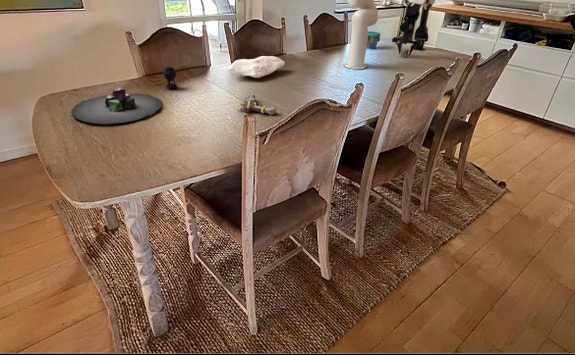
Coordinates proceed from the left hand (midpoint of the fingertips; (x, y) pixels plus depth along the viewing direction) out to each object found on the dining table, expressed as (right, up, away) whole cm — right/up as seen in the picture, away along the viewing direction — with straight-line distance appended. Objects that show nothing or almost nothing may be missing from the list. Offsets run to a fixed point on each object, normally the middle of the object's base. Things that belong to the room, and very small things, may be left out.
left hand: (415, 16), depth 184 cm
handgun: (-78, -51, -26) cm, 97 cm away
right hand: (+13, 0, +59) cm, 60 cm away
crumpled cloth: (-83, -25, +14) cm, 88 cm away
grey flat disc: (-136, -53, -32) cm, 149 cm away
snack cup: (-5, +11, +77) cm, 78 cm away
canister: (+13, -1, +59) cm, 61 cm away
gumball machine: (-121, -39, -9) cm, 128 cm away
